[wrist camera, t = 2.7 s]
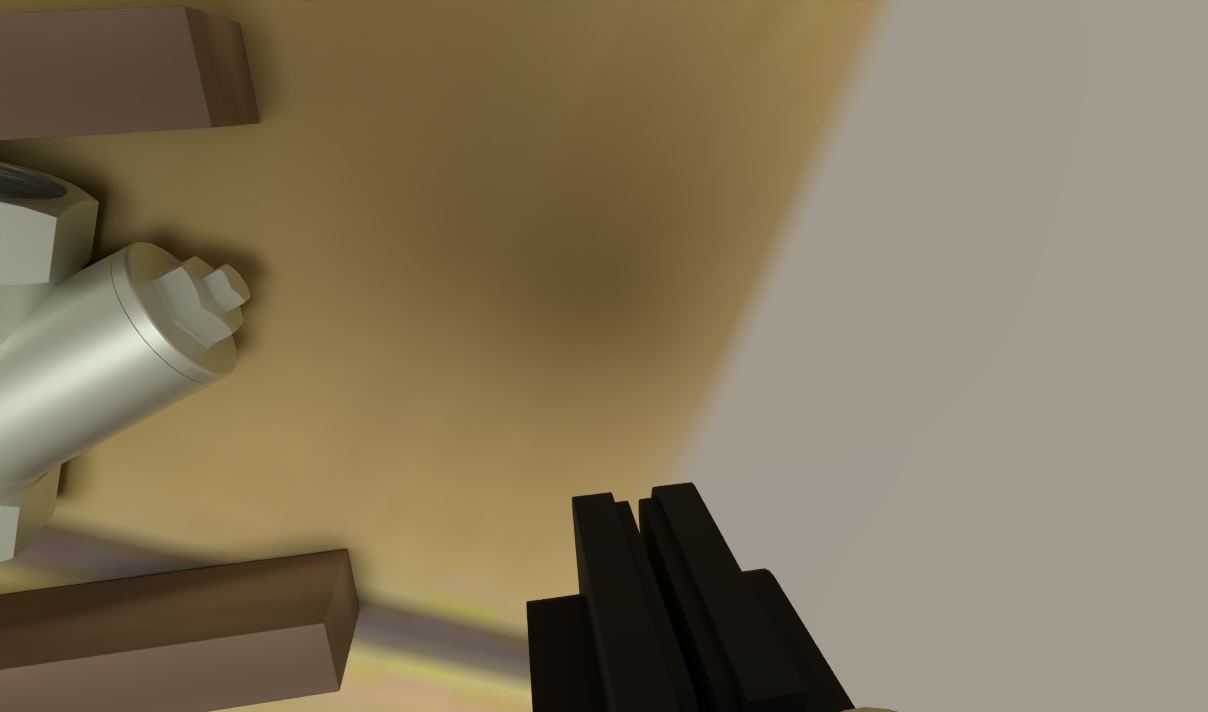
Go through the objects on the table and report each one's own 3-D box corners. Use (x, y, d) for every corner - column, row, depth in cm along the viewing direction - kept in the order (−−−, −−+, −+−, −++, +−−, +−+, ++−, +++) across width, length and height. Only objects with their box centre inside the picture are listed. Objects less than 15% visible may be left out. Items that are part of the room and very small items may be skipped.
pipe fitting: (276, 232, 17) (-64, 140, 15) (238, 271, 14) (-212, 157, 12) (216, 516, 20) (-91, 470, 17) (169, 613, 16) (-223, 570, 14)
